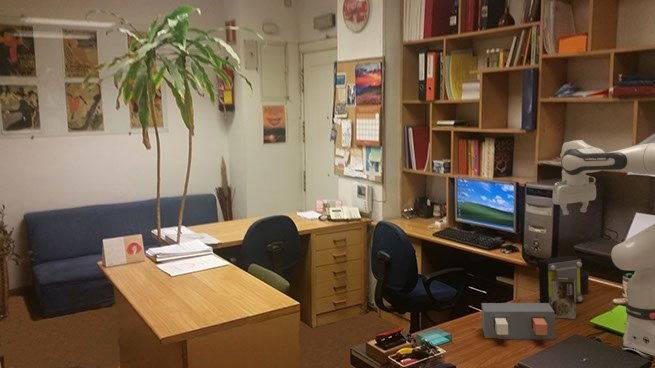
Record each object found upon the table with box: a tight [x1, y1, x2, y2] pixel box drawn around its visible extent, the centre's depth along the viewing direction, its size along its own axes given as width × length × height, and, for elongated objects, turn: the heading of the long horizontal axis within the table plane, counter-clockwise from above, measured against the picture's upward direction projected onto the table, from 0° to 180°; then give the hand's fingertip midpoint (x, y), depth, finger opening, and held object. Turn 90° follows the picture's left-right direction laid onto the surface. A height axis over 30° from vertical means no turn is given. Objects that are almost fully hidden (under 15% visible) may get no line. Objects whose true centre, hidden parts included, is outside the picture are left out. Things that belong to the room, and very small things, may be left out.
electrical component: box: [536, 255, 584, 307], centre depth 250 cm, size 18×10×20 cm, turn 105°
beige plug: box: [494, 317, 508, 335], centre depth 211 cm, size 11×4×4 cm, turn 169°
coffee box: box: [551, 277, 577, 320], centre depth 233 cm, size 9×6×16 cm
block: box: [481, 302, 556, 340], centre depth 217 cm, size 10×26×11 cm, turn 79°
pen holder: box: [581, 269, 590, 296], centre depth 263 cm, size 9×9×10 cm
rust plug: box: [531, 317, 548, 335], centre depth 208 cm, size 11×4×4 cm, turn 169°
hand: (574, 213), depth 224 cm, fingers open, 8 cm apart
